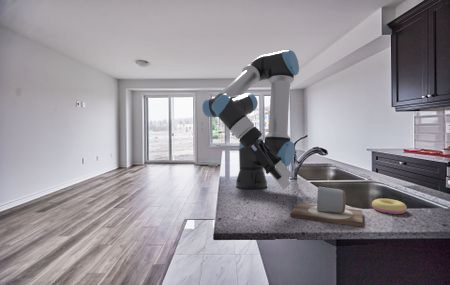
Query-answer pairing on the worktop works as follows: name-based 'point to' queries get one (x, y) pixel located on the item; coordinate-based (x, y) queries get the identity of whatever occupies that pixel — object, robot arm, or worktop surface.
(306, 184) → the worktop surface
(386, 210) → the donut
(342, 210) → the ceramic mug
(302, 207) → the walnut board
